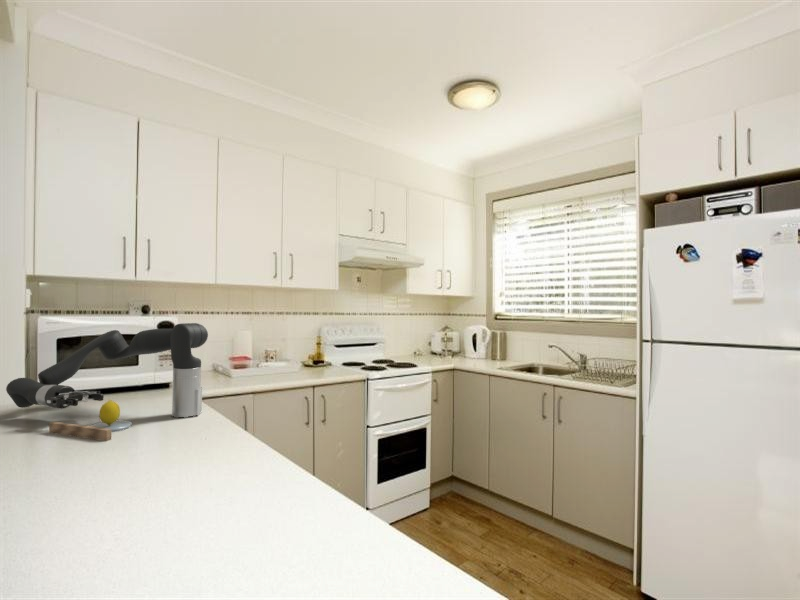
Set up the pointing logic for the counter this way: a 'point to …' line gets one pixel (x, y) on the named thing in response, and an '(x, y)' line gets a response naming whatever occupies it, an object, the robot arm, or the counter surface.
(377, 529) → the counter surface
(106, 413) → the lemon
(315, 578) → the counter surface
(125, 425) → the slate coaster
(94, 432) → the walnut wall
